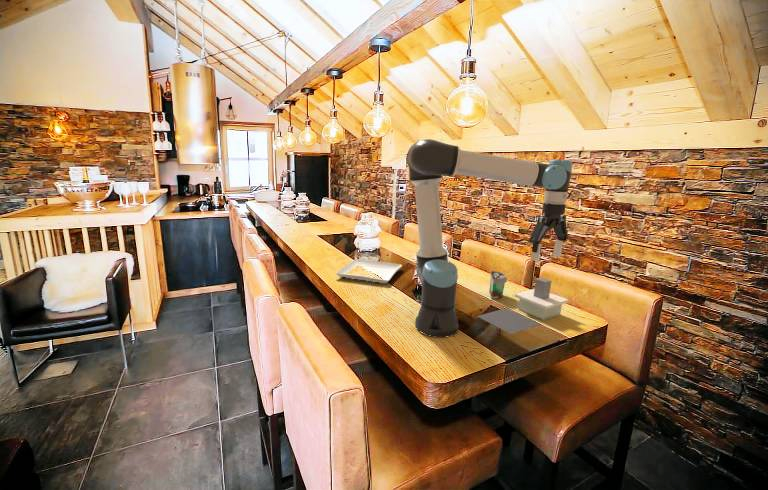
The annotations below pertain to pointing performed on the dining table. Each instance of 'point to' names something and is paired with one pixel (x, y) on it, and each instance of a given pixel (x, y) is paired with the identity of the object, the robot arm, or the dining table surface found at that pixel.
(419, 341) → the dining table surface
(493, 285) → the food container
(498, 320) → the mat
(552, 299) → the lid
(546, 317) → the open square box
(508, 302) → the dining table surface
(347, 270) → the square plate
